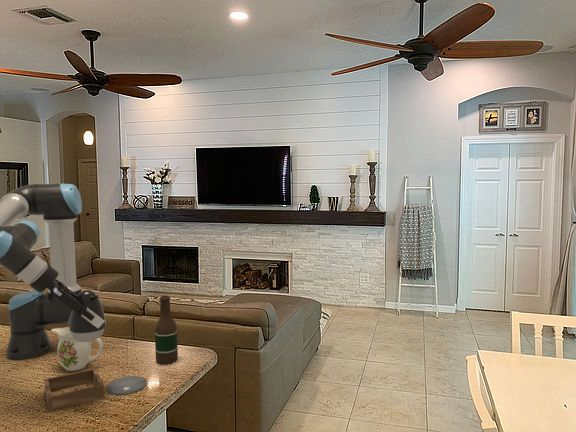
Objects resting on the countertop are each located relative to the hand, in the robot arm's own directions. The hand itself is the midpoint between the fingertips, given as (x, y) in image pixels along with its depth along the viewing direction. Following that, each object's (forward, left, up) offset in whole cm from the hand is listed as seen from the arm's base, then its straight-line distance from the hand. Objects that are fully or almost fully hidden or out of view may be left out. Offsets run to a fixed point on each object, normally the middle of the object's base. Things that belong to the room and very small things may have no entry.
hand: (98, 320), depth 141 cm
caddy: (-2, -8, -23) cm, 24 cm away
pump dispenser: (0, -3, -6) cm, 6 cm away
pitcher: (-24, -4, -23) cm, 34 cm away
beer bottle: (-12, +24, -23) cm, 36 cm away
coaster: (+1, +7, -23) cm, 24 cm away
